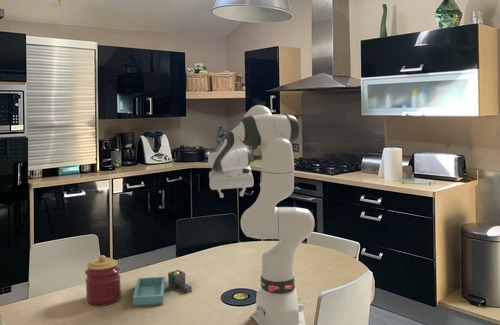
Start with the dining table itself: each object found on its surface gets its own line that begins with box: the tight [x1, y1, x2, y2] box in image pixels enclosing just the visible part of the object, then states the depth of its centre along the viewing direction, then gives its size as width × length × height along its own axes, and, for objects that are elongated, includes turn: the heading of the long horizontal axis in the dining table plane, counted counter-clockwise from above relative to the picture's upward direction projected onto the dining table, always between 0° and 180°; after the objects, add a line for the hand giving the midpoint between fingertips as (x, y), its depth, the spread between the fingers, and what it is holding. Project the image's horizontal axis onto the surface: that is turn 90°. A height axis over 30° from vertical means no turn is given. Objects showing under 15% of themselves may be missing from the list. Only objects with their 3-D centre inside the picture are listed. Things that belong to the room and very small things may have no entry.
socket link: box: [167, 269, 193, 294], centre depth 187 cm, size 11×5×6 cm, turn 43°
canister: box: [84, 254, 122, 306], centre depth 176 cm, size 13×13×18 cm
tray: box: [132, 276, 166, 308], centre depth 181 cm, size 20×11×4 cm, turn 8°
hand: (231, 196), depth 211 cm, fingers open, 8 cm apart
